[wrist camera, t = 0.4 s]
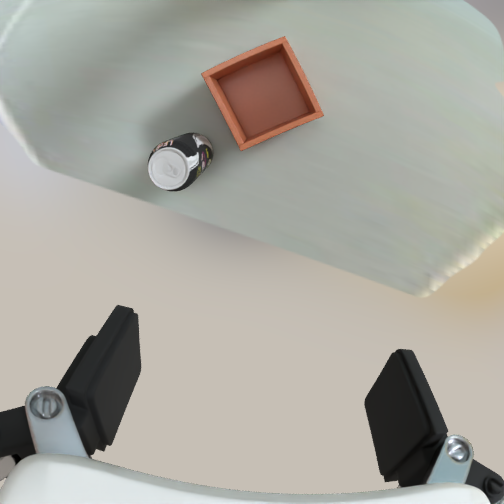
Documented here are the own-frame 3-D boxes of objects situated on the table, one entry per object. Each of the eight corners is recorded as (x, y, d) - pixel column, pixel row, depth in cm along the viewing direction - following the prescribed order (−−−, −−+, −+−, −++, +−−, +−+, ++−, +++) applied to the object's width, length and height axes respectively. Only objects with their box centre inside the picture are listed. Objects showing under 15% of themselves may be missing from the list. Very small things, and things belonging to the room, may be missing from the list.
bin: (211, 78, 38) (201, 73, 32) (282, 46, 35) (284, 36, 29) (244, 144, 41) (240, 151, 35) (315, 114, 39) (324, 115, 33)
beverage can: (206, 177, 44) (185, 202, 33) (168, 165, 43) (136, 186, 32) (219, 139, 41) (202, 151, 30) (180, 127, 41) (150, 135, 30)
